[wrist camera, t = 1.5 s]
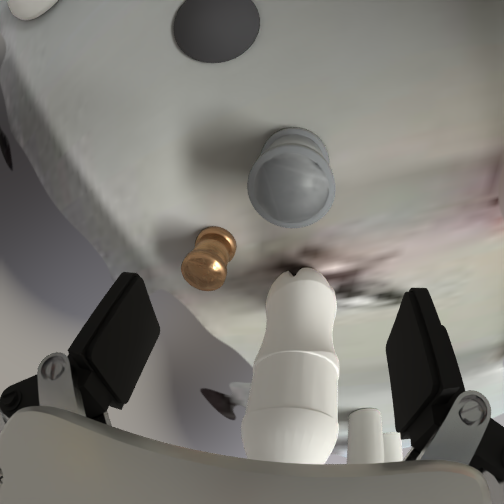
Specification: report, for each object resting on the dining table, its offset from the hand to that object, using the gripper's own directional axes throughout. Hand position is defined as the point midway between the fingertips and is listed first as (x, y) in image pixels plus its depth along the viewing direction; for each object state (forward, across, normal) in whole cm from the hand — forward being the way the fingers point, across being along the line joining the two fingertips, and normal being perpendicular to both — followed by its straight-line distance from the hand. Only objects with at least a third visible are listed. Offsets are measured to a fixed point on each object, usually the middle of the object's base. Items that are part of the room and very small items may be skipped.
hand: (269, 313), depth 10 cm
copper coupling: (+18, +8, +9) cm, 22 cm away
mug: (+18, -16, +47) cm, 53 cm away
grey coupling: (+18, 0, 0) cm, 18 cm away
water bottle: (+18, -1, +14) cm, 23 cm away
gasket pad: (+18, +6, -12) cm, 23 cm away
